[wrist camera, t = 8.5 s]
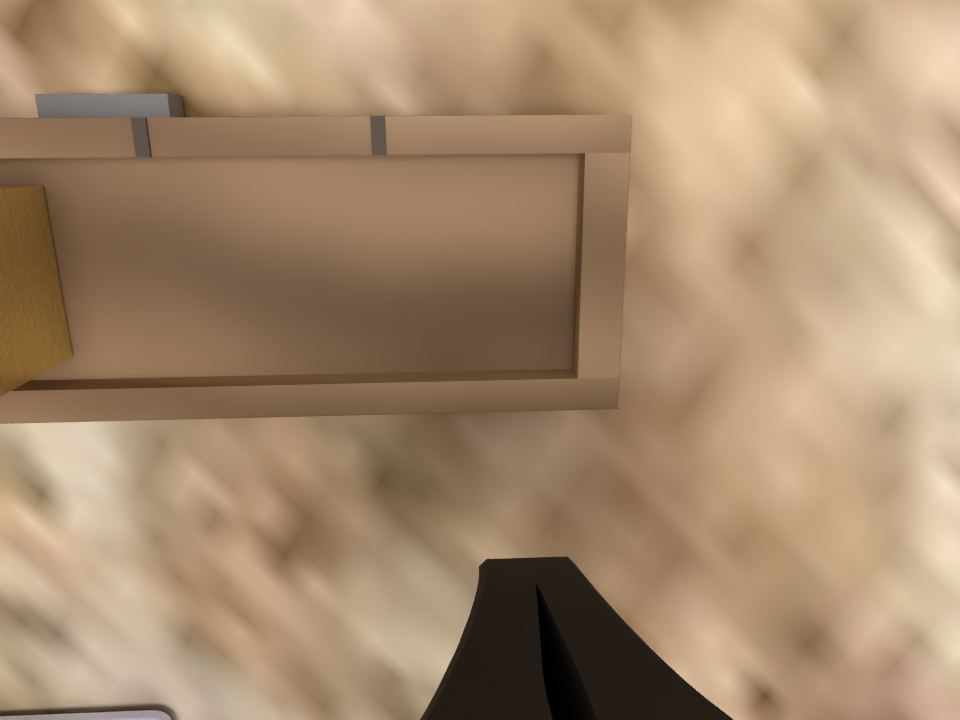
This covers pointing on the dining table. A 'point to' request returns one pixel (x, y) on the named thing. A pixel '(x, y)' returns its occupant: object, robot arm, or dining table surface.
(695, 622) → the dining table surface
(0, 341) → the yellow block
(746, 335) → the dining table surface
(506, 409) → the brown rectangular tray
